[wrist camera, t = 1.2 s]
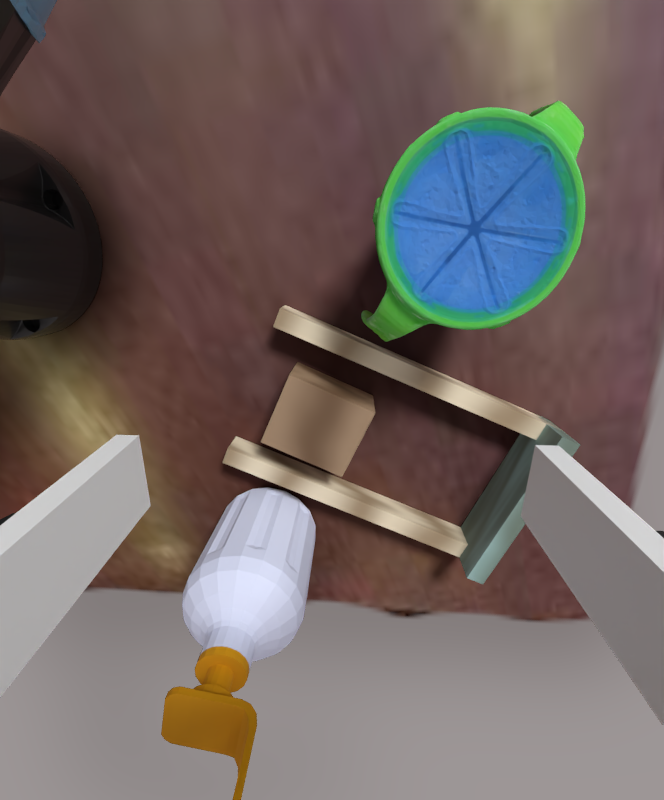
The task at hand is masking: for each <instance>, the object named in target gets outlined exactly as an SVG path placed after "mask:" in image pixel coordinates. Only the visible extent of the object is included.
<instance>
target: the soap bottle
mask: <svg viewBox="0 0 664 800" xmlns="http://www.w3.org/2000/svg"><path fill="white" fill-rule="evenodd" d="M315 530H316V525H315V523H314V520H313V518H312V515H311V512H310V511H309V509H308V508H307V507H306V506H305V505H304V504H303V503H302V502H301V500H300V499H298V498H297V497H295V496H293V495H291V494H290V493H288V492H286V491H283V490H279V489H274V488H270V487H267V488H256V489H251V490H249V491H247V492H245V493H242V494H240V495H238V496H237V497H236V498H235V499H234V500H233V501H232V502H231V503H230V504H229V505H228V506H227V507H226V509H225V511H224V513H223V515H222V517H221V518H220V520H219V522H218V524H217V526H216V528H215V530H214V531H213V533H212V535H211V537H210V539H209V541H208V543H207V544H206V546H205V548H204V550H203V552H202V554H201V556H200V557H199V559H198V561H197V563H196V565H195V567H194V569H193V570H192V572H191V574H190V576H189V578H188V581H187V583H186V586H185V589H184V592H183V600H182V608H183V618H184V622H185V624H186V626H187V628H188V630H189V631H190V633H191V635H192V636H193V638H194V639H195V640H196V641H197V642H198V643H199V644H200V645H201V646H202V647H203V649H202V651H201V654H200V656H199V659H198V662H197V664H196V667H195V675H196V677H197V679H198V680H199V682H200V683H201V684H202V685H199V686H197V687H195V688H194V689H190V688H185V687H175V688H172V689H171V690H170V691H169V692H168V694H167V696H166V698H165V705H164V715H163V723H162V732H161V735H162V736H163V737H164V739H165V740H167V741H168V742H170V743H172V744H177V745H182V746H186V747H191V748H197V749H201V750H206V751H211V752H216V753H220V754H225V755H228V756H231V757H233V758H235V761H236V763H237V766H238V779H237V784H236V788H235V792H234V796H233V800H241V797H242V792H243V788H244V783H245V778H246V773H247V769H248V764H249V760H250V755H251V750H252V745H253V741H254V736H255V732H256V727H257V718H256V717H257V716H256V715H257V714H256V712H255V710H254V709H253V707H252V705H251V704H250V703H248V702H246V701H244V700H242V699H238V698H233V696H232V695H231V692H235V691H238V690H239V689H240V688H242V687H243V686H244V685H245V682H246V681H247V678H248V674H249V671H250V667H251V663H252V662H254V661H258V660H262V659H264V658H267V657H270V656H273V655H276V654H277V653H279V652H280V651H281V650H282V649H284V648H285V647H286V646H287V645H289V644H290V643H291V641H292V640H293V638H294V636H295V635H296V633H297V631H298V629H299V627H300V625H301V623H302V621H303V619H304V612H305V606H306V599H307V592H308V585H309V579H310V572H311V565H312V558H313V551H314V545H315Z"/></svg>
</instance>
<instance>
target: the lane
mask: <svg viewBox="0 0 664 800" xmlns="http://www.w3.org/2000/svg"><path fill="white" fill-rule="evenodd" d="M273 327H275V328H277V329H279V330H282V331H284V332H286V333H289V334H291V335H293V336H296V337H298V338H300V339H303V340H305V341H307V342H310V343H312V344H314V345H317V346H319V347H321V348H324V349H326V350H328V351H330V352H333V353H335V354H337V355H340V356H342V357H344V358H347V359H349V360H351V361H354V362H356V363H358V364H361V365H363V366H365V367H368V368H370V369H372V370H375V371H377V372H379V373H382V374H384V375H386V376H389V377H391V378H393V379H395V380H398V381H400V382H402V383H405V384H407V385H409V386H412V387H414V388H416V389H419V390H421V391H423V392H426V393H428V394H430V395H433V396H435V397H437V398H440V399H442V400H444V401H447V402H449V403H451V404H454V405H456V406H458V407H460V408H463V409H465V410H467V411H470V412H472V413H474V414H477V415H479V416H481V417H484V418H486V419H488V420H491V421H493V422H495V423H498V424H500V425H502V426H505V427H507V428H509V429H512V430H514V431H516V432H519V433H520V435H519V436H518V438H517V439H516V441H515V443H514V444H513V446H512V447H511V449H510V450H509V452H508V454H507V455H506V457H505V458H504V460H503V461H502V463H501V465H500V466H499V468H498V469H497V471H496V472H495V474H494V476H493V477H492V479H491V480H490V482H489V483H488V485H487V487H486V488H485V490H484V491H483V493H482V494H481V496H480V498H479V499H478V501H477V502H476V504H475V505H474V507H473V509H472V510H471V512H470V513H469V515H468V516H467V518H466V520H465V521H464V523H463V524H462V526H461V527H459V526H456V525H454V524H451V523H449V522H447V521H444V520H442V519H439V518H437V517H434V516H432V515H429V514H427V513H424V512H422V511H419V510H417V509H415V508H412V507H410V506H407V505H405V504H402V503H400V502H397V501H395V500H392V499H390V498H387V497H385V496H382V495H380V494H378V493H375V492H373V491H370V490H368V489H365V488H363V487H360V486H358V485H355V484H353V483H350V482H348V481H346V480H343V479H341V478H338V477H336V476H333V475H331V474H328V473H326V472H323V471H321V470H318V469H316V468H314V467H311V466H309V465H306V464H304V463H301V462H299V461H296V460H294V459H291V458H289V457H286V456H284V455H281V454H279V453H277V452H274V451H272V450H269V449H267V448H264V447H262V446H259V445H257V444H254V443H252V442H249V441H247V440H245V439H242V438H240V437H237V436H236V437H235V439H234V440H233V442H232V443H231V444H230V446H229V447H228V449H227V452H226V455H225V457H224V460H223V463H224V464H227V465H229V466H232V467H234V468H237V469H239V470H242V471H244V472H247V473H249V474H252V475H254V476H257V477H259V478H262V479H264V480H267V481H270V482H272V483H275V484H277V485H280V486H282V487H285V488H287V489H290V490H292V491H295V492H297V493H300V494H302V495H305V496H307V497H310V498H312V499H315V500H317V501H320V502H322V503H325V504H327V505H330V506H332V507H335V508H337V509H340V510H342V511H345V512H347V513H350V514H352V515H355V516H357V517H360V518H362V519H365V520H367V521H370V522H372V523H375V524H377V525H380V526H382V527H385V528H387V529H390V530H392V531H395V532H397V533H400V534H402V535H405V536H407V537H410V538H412V539H415V540H417V541H420V542H422V543H425V544H427V545H430V546H432V547H435V548H437V549H440V550H442V551H445V552H447V553H450V554H452V555H455V556H457V557H459V558H460V560H461V563H462V566H463V569H464V571H465V574H466V577H467V578H468V579H471V580H473V581H476V582H478V583H481V584H484V582H485V581H486V579H487V578H488V576H489V575H490V574H491V572H492V571H493V569H494V568H495V566H496V565H497V564H498V562H499V561H500V559H501V558H502V556H503V555H504V554H505V552H506V551H507V549H508V548H509V546H510V545H511V543H512V542H513V541H514V539H515V538H516V536H517V535H518V533H519V532H520V531H521V529H522V528H523V526H524V525H525V522H524V520H523V519H522V517H521V512H522V507H523V502H524V497H525V492H526V487H527V483H528V478H529V473H530V468H531V463H532V458H533V453H534V448H535V445H552V446H560V447H561V448H562V449H563V450H564V451H565V452H567V453H568V454H569V455H570V456H571V457H572V456H573V455H574V453H575V452H576V450H577V449H578V448H579V446H580V444H579V443H578V442H576V441H575V440H574V439H573V438H571V437H570V436H569V435H567V434H566V433H565V432H564V431H562V430H561V429H560V428H558V427H557V426H556V425H555V424H553V423H552V422H551V421H550V420H548V419H545V418H543V417H541V416H539V415H536V414H534V413H532V412H529V411H527V410H525V409H523V408H520V407H518V406H516V405H513V404H511V403H509V402H506V401H504V400H502V399H500V398H497V397H495V396H493V395H490V394H488V393H486V392H484V391H481V390H479V389H477V388H474V387H472V386H470V385H468V384H465V383H463V382H461V381H458V380H456V379H454V378H451V377H449V376H447V375H445V374H442V373H440V372H438V371H435V370H433V369H431V368H429V367H426V366H424V365H422V364H419V363H417V362H415V361H412V360H410V359H408V358H406V357H403V356H401V355H399V354H396V353H394V352H392V351H390V350H387V349H385V348H383V347H380V346H378V345H376V344H374V343H371V342H369V341H367V340H364V339H362V338H360V337H357V336H355V335H353V334H351V333H348V332H346V331H344V330H341V329H339V328H337V327H335V326H332V325H330V324H328V323H325V322H323V321H321V320H318V319H316V318H314V317H312V316H309V315H307V314H305V313H302V312H300V311H298V310H296V309H293V308H291V307H289V306H286V305H285V306H283V307H281V308H280V310H279V313H278V315H277V318H276V321H275V323H274V326H273Z"/></svg>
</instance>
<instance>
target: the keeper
mask: <svg viewBox="0 0 664 800" xmlns="http://www.w3.org/2000/svg"><path fill="white" fill-rule="evenodd" d="M374 415H375V407H374V399H373V395H371V394H368V393H366V392H364V391H362V390H360V389H357V388H355V387H353V386H351V385H348V384H346V383H344V382H342V381H340V380H337V379H335V378H333V377H331V376H328V375H326V374H324V373H322V372H320V371H317V370H315V369H313V368H311V367H308V366H306V365H304V364H302V363H300V362H297V363H296V365H295V367H294V368H293V370H292V371H291V373H290V375H289V377H288V379H287V382H286V384H285V386H284V389H283V391H282V393H281V396H280V398H279V400H278V403H277V405H276V407H275V410H274V412H273V414H272V417H271V419H270V421H269V424H268V426H267V428H266V431H265V433H264V435H263V438H262V440H261V443H264V444H266V445H268V446H271V447H273V448H275V449H278V450H280V451H282V452H285V453H287V454H289V455H292V456H294V457H296V458H299V459H301V460H303V461H306V462H308V463H310V464H313V465H315V466H317V467H320V468H322V469H324V470H327V471H329V472H331V473H334V474H336V475H338V476H341V477H342V476H343V474H344V472H345V470H346V468H347V466H348V465H349V463H350V461H351V459H352V457H353V455H354V453H355V451H356V449H357V447H358V445H359V443H360V442H361V440H362V438H363V436H364V434H365V432H366V430H367V428H368V426H369V424H370V422H371V420H372V418H373V417H374Z"/></svg>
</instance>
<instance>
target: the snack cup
mask: <svg viewBox="0 0 664 800" xmlns="http://www.w3.org/2000/svg"><path fill="white" fill-rule="evenodd" d="M583 132H584V126H583V125H582V123H581V122H580V121H579V119H578V118H577V117H576V116H575V115H574V114H573V113H572V111H571V110H570V109H569V108H568V107H567V106H566V105H565V104H563V103H562V102H561V101H557V102H555V103H553V104H550V105H547V106H545V107H541V108H539V109H537V110H535V111H533V112H532V113H531V114H530V115H527V114H525V113H522V112H519V111H515V110H511V109H504V108H491V107H488V108H478V109H474V110H470V111H467V112H464V113H459V112H456V113H454V114H451V115H448V116H446V117H444V118H442V119H441V120H440V121H438V123H437V124H436V125H435V126H434V127H432V128H431V129H429V130H428V131H427V132H425V133H424V134H423V135H422V136H420V137H419V138H418V139H417V140H416V141H415V142H414V143H413V144H411V145H410V146H409V147H408V148H407V150H406V151H405V153H404V154H403V155H402V156H401V158H400V159H399V161H398V162H397V164H396V165H395V167H394V168H393V170H392V172H391V174H390V176H389V178H388V180H387V182H386V184H385V187H384V189H383V192H382V195H381V196H380V197H379V198H378V199H377V200H376V204H375V209H374V214H373V222H374V224H375V239H376V246H377V253H378V258H379V262H380V265H381V268H382V271H383V273H384V275H385V278H386V281H387V289H386V293H385V295H384V297H383V299H382V300H381V303H380V304H379V306H378V308H377V310H376V311H375V313H374V314H372V313H371V312H369V311H367V310H365V311H363V312H362V313H361V318H362V320H363V322H364V323H365V324H366V325H367V327H369V328H370V329H372V330H373V331H374V332H375V333H376V334H377V335H379V337H380V338H381V339H383V340H384V341H386V342H388V341H390V340H393V339H396V338H399V337H401V336H404V335H406V334H408V333H410V332H412V331H414V330H416V329H418V328H420V327H422V326H424V325H427V324H438V325H442V326H445V327H449V328H456V329H464V330H474V329H483V328H489V329H495V328H498V327H501V326H504V325H506V324H509V323H510V321H511V320H513V319H515V318H517V317H520V316H521V315H523V314H525V313H526V312H528V311H529V310H531V309H532V308H534V307H535V306H537V305H538V304H539V303H540V302H541V301H542V300H544V299H545V298H546V297H547V296H548V295H549V294H550V293H551V291H552V290H553V289H554V288H555V287H556V286H557V284H558V283H559V282H560V280H561V279H562V278H563V276H564V275H565V273H566V271H567V269H568V268H569V266H570V264H571V262H572V260H573V258H574V256H575V254H576V252H577V250H578V248H579V246H580V242H581V236H582V232H583V227H584V220H585V193H584V186H583V181H582V177H581V173H580V170H579V168H578V166H577V163H576V158H577V154H578V151H579V148H580V146H581V142H582V140H583V138H584V135H583Z"/></svg>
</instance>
